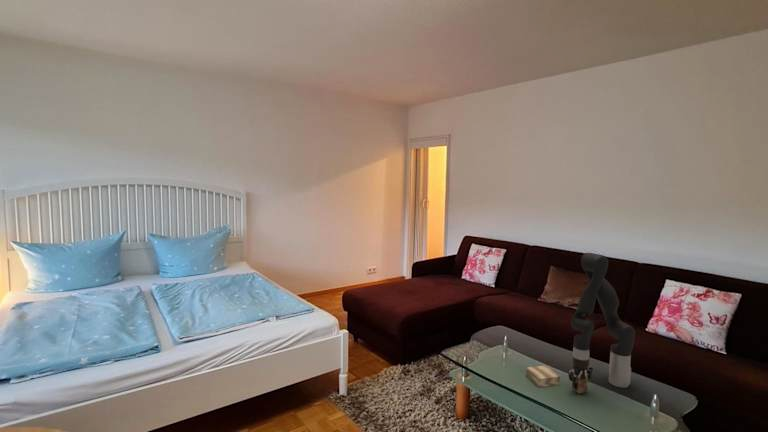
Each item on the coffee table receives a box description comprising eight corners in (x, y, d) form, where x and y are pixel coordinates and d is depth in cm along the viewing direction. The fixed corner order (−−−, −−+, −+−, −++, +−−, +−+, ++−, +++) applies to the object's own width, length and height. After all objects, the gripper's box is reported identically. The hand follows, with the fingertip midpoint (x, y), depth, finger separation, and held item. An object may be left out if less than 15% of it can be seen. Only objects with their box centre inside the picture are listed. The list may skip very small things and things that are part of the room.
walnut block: (579, 386, 203) (580, 373, 202) (587, 391, 198) (587, 378, 198) (571, 388, 202) (572, 375, 201) (579, 393, 197) (579, 380, 196)
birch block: (545, 373, 219) (546, 365, 218) (559, 385, 207) (559, 376, 206) (526, 376, 216) (526, 367, 216) (538, 388, 205) (539, 379, 204)
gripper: (586, 350, 204) (585, 381, 206) (563, 354, 199) (562, 386, 201) (598, 357, 196) (596, 389, 198) (575, 361, 192) (573, 394, 194)
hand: (579, 387), depth 200 cm, fingers closed on walnut block, 5 cm apart
